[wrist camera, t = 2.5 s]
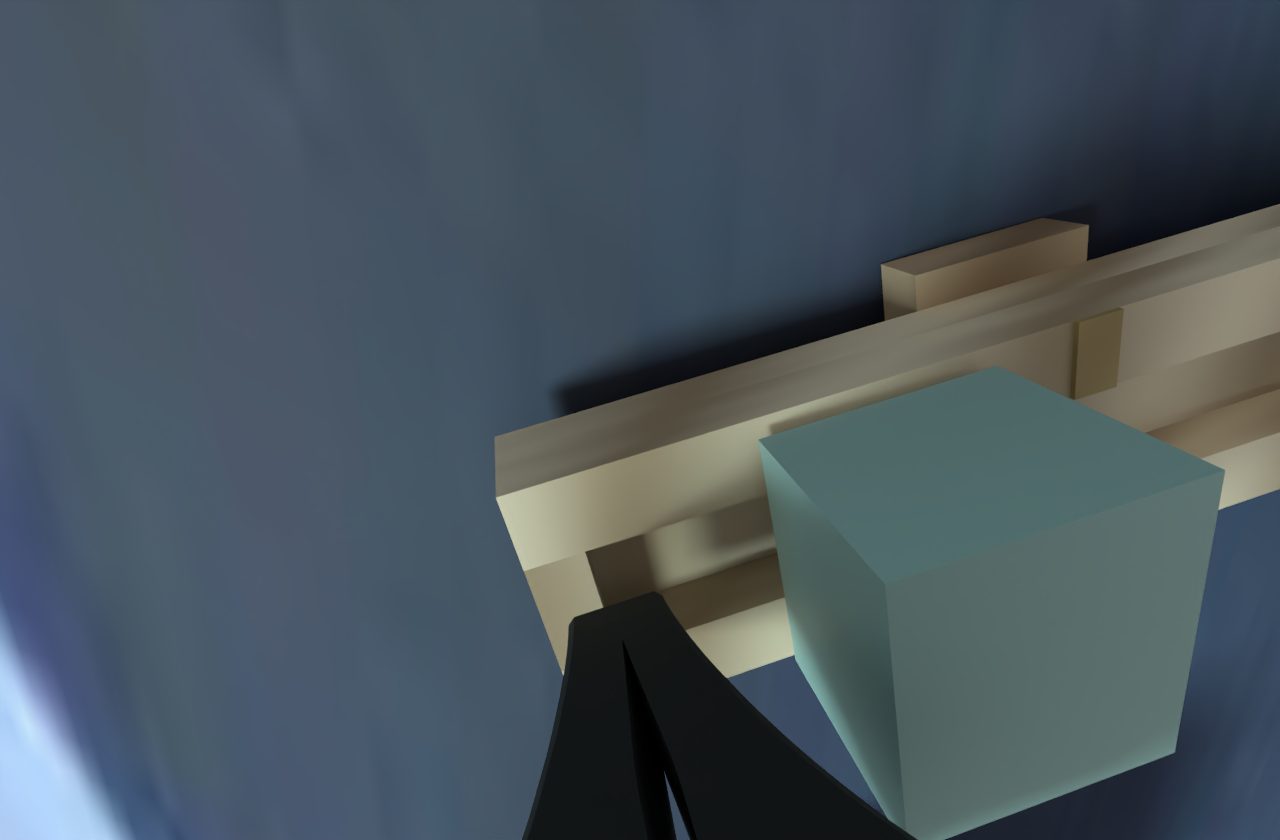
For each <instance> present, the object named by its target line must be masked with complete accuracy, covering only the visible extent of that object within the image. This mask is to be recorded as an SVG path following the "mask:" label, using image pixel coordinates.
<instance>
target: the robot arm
mask: <svg viewBox="0 0 1280 840" xmlns="http://www.w3.org/2000/svg"><path fill="white" fill-rule="evenodd" d="M664 772H665V774H666V777H667V780H668V782H669V785H670V788H671V790H672V793H673V796H674V798H675V801H676V803H677V806H678V809H679V811H680V814H681V817H682V819H683V822H684V825H685V827H686V830H687V833H688V835H689V838H690V840H917V839H916V838H915V837H913V836H912V835H910V834H909V833H907V832H906V831H904V830H903V829H902V828H900V827H899V826H897V825H896V824H894V823H893V822H891V821H890V820H888V819H887V818H886V817H884V816H883V815H882V814H880V813H879V812H878V811H876V810H875V809H874V808H872V807H871V806H870V805H869V804H867V803H866V802H865V801H863V800H862V799H861V798H859V797H858V796H857V795H856V794H854V793H853V792H852V791H850V790H849V789H848V788H846V787H845V786H844V785H843V784H841V783H840V782H839V781H838V780H836V779H835V778H834V777H833V776H832V775H830V774H829V773H828V772H827V771H825V770H824V769H823V768H822V767H821V766H819V765H818V764H817V763H816V762H814V761H813V760H812V759H811V758H810V757H809V756H807V755H806V754H805V753H804V752H803V751H802V750H800V749H799V748H798V747H797V746H796V745H795V744H794V743H792V742H791V741H790V740H789V739H788V738H787V737H786V736H785V735H784V734H782V733H781V732H780V731H779V730H778V729H777V728H776V727H775V726H774V725H773V724H772V723H771V722H770V721H769V720H767V719H766V718H765V717H764V716H763V715H762V714H761V713H760V712H759V711H758V710H757V709H756V708H755V707H754V706H753V705H752V704H751V703H750V702H749V701H748V700H747V699H746V698H745V697H744V696H743V695H742V694H741V693H740V692H739V691H738V690H737V689H736V688H735V687H734V686H733V685H732V684H731V683H730V682H729V680H728V679H727V678H726V677H725V676H724V675H723V674H722V673H721V672H720V671H719V670H718V669H717V668H716V666H715V665H714V664H713V663H712V662H711V661H710V660H709V659H708V658H707V656H706V655H705V654H704V653H703V652H702V651H701V649H700V648H699V647H698V646H697V645H696V643H695V642H694V641H693V640H692V638H691V637H690V636H689V635H688V633H687V632H686V631H685V629H684V628H683V627H682V625H681V624H680V623H679V621H678V620H677V619H676V617H675V616H674V614H673V613H672V611H671V610H670V608H669V606H668V605H667V603H666V601H665V600H664V598H663V596H662V595H661V594H659V593H656V592H654V591H653V592H650V593H646V594H643V595H640V596H637V597H634V598H631V599H628V600H625V601H622V602H619V603H616V604H613V605H610V606H606V607H603V608H600V609H597V610H594V611H591V612H588V613H585V614H582V615H579V616H576V617H574V618H573V619H572V621H571V623H570V624H569V628H568V646H567V655H566V663H565V670H564V676H563V682H562V688H561V693H560V699H559V703H558V708H557V713H556V717H555V722H554V726H553V731H552V735H551V740H550V744H549V748H548V752H547V756H546V760H545V764H544V767H543V771H542V774H541V778H540V781H539V785H538V788H537V792H536V796H535V799H534V803H533V806H532V810H531V813H530V816H529V820H528V823H527V826H526V829H525V832H524V835H523V838H522V840H676V834H675V829H674V823H673V818H672V812H671V807H670V801H669V796H668V791H667V785H666V780H665V774H664Z"/></svg>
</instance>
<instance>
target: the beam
mask: <svg viewBox="0 0 1280 840" xmlns="http://www.w3.org/2000/svg"><path fill="white" fill-rule="evenodd" d="M1088 233H1089V225H1085V224H1079V223H1072V222H1066V221H1059V220H1053V219H1046V218H1040V219H1036V220H1033V221H1029V222H1026V223H1022V224H1019V225H1015V226H1012V227H1008V228H1005V229H1001V230H998V231H994V232H991V233H987V234H984V235H981V236H977V237H974V238H970V239H967V240H963V241H960V242H956V243H953V244H949V245H946V246H942V247H939V248H935V249H932V250H928V251H925V252H922V253H918V254H915V255H911V256H908V257H904V258H901V259H897V260H894V261H890V262H887V263H883V264H881V273H882V287H883V301H884V315H885V321H883V322H880V323H877V324H873V325H870V326H867V327H863V328H860V329H857V330H853V331H850V332H846V333H843V334H840V335H836V336H833V337H830V338H826V339H823V340H819V341H816V342H813V343H809V344H806V345H803V346H799V347H796V348H792V349H789V350H786V351H782V352H779V353H776V354H772V355H769V356H766V357H762V358H759V359H755V360H752V361H749V362H745V363H742V364H739V365H735V366H732V367H728V368H725V369H722V370H718V371H715V372H712V373H708V374H705V375H701V376H698V377H695V378H691V379H688V380H685V381H681V382H678V383H675V384H671V385H668V386H664V387H661V388H658V389H654V390H651V391H648V392H644V393H641V394H637V395H634V396H631V397H627V398H624V399H621V400H617V401H614V402H611V403H607V404H604V405H600V406H597V407H594V408H590V409H587V410H584V411H580V412H577V413H573V414H570V415H567V416H563V417H560V418H557V419H553V420H550V421H546V422H543V423H540V424H536V425H533V426H530V427H526V428H523V429H520V430H516V431H513V432H509V433H506V434H503V435H499V436H496V437H495V477H496V499H497V502H498V504H499V507H500V510H501V512H502V515H503V518H504V520H505V523H506V526H507V528H508V531H509V533H510V536H511V539H512V541H513V544H514V547H515V549H516V552H517V555H518V557H519V560H520V562H521V565H522V568H523V570H524V573H525V576H526V578H527V581H528V583H529V586H530V589H531V591H532V594H533V597H534V599H535V602H536V605H537V607H538V610H539V612H540V615H541V618H542V620H543V623H544V626H545V628H546V631H547V633H548V636H549V639H550V641H551V644H552V647H553V649H554V652H555V655H556V657H557V660H558V662H559V665H560V668H561V670H562V673H563V676H564V670H565V663H566V655H567V646H568V628H569V624H570V623H571V621H572V619H573V618H574V617H576V616H579V615H582V614H585V613H588V612H591V611H594V610H597V609H600V608H603V607H606V606H610V605H613V604H616V603H619V602H622V601H625V600H628V599H631V598H634V597H637V596H640V595H643V594H646V593H650V592H653V591H654V592H656V593H659V594H661V595H662V596H663V598H664V600H665V601H666V603H667V605H668V606H669V608H670V610H671V611H672V613H673V614H674V616H675V617H676V619H677V620H678V621H679V623H680V624H681V625H682V627H683V628H684V629H685V631H686V632H687V633H688V635H689V636H690V637H691V638H692V640H693V641H694V642H695V643H696V645H697V646H698V647H699V648H700V649H701V651H702V652H703V653H704V654H705V655H706V656H707V658H708V659H709V660H710V661H711V662H712V663H713V664H714V665H715V666H716V668H717V669H718V670H719V671H720V672H721V673H722V674H723V675H724V676H725V677H726V678H728V677H731V676H734V675H737V674H740V673H743V672H746V671H749V670H752V669H754V668H757V667H760V666H763V665H766V664H769V663H772V662H775V661H778V660H781V659H784V658H787V657H790V656H792V655H795V654H794V648H793V642H792V636H791V630H790V624H789V618H788V613H787V607H786V601H785V595H784V589H783V583H782V577H781V571H780V565H779V560H778V554H777V548H776V542H775V536H774V530H773V524H772V518H771V512H770V507H769V501H768V495H767V489H766V483H765V477H764V471H763V465H762V459H761V454H760V448H759V442H758V439H762V438H765V437H768V436H771V435H775V434H778V433H781V432H784V431H788V430H791V429H794V428H797V427H801V426H804V425H807V424H810V423H814V422H817V421H820V420H823V419H826V418H830V417H833V416H836V415H839V414H843V413H846V412H849V411H852V410H856V409H859V408H862V407H865V406H869V405H872V404H875V403H878V402H882V401H885V400H888V399H891V398H895V397H898V396H901V395H904V394H907V393H911V392H914V391H917V390H920V389H924V388H927V387H930V386H933V385H937V384H940V383H943V382H946V381H950V380H953V379H956V378H959V377H963V376H966V375H969V374H972V373H976V372H979V371H982V370H985V369H988V368H992V367H995V366H1000V367H1002V368H1004V369H1006V370H1008V371H1010V372H1013V373H1015V374H1017V375H1019V376H1021V377H1023V378H1026V379H1028V380H1030V381H1032V382H1034V383H1037V384H1039V385H1041V386H1043V387H1045V388H1047V389H1050V390H1052V391H1054V392H1056V393H1058V394H1061V395H1063V396H1065V397H1067V398H1069V399H1071V400H1074V401H1076V402H1078V403H1080V404H1082V405H1085V406H1087V407H1089V408H1091V409H1093V410H1095V411H1098V412H1100V413H1102V414H1104V415H1106V416H1108V417H1111V418H1113V419H1115V420H1117V421H1119V422H1122V423H1124V424H1126V425H1128V426H1130V427H1132V428H1135V429H1137V430H1139V431H1141V432H1143V433H1146V434H1148V435H1150V436H1152V437H1154V438H1156V439H1159V440H1161V441H1163V442H1165V443H1167V444H1170V445H1172V446H1174V447H1176V448H1178V449H1180V450H1183V451H1185V452H1187V453H1189V454H1191V455H1193V456H1196V457H1198V458H1200V459H1202V460H1204V461H1207V462H1209V463H1211V464H1213V465H1215V466H1217V467H1220V468H1222V469H1224V470H1225V475H1224V481H1223V486H1222V492H1221V497H1220V503H1219V509H1222V508H1225V507H1228V506H1231V505H1234V504H1237V503H1240V502H1243V501H1246V500H1248V499H1251V498H1254V497H1257V496H1260V495H1263V494H1266V493H1269V492H1272V491H1275V490H1278V489H1280V204H1278V205H1274V206H1271V207H1268V208H1264V209H1261V210H1258V211H1254V212H1251V213H1247V214H1244V215H1241V216H1237V217H1234V218H1231V219H1227V220H1224V221H1220V222H1217V223H1214V224H1210V225H1207V226H1204V227H1200V228H1197V229H1193V230H1190V231H1187V232H1183V233H1180V234H1177V235H1173V236H1170V237H1167V238H1163V239H1160V240H1156V241H1153V242H1150V243H1146V244H1143V245H1140V246H1136V247H1133V248H1129V249H1126V250H1123V251H1119V252H1116V253H1113V254H1109V255H1106V256H1103V257H1099V258H1096V259H1092V260H1089V261H1087V249H1088ZM1219 509H1218V510H1219Z"/></svg>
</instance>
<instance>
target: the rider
mask: <svg viewBox="0 0 1280 840" xmlns="http://www.w3.org/2000/svg"><path fill="white" fill-rule="evenodd" d="M758 442H759V448H760V454H761V459H762V465H763V471H764V477H765V483H766V489H767V495H768V501H769V507H770V512H771V518H772V524H773V530H774V536H775V542H776V548H777V554H778V560H779V565H780V571H781V577H782V583H783V589H784V595H785V601H786V607H787V613H788V618H789V624H790V630H791V636H792V642H793V648H794V654H795V660H796V662H797V663H798V665H799V667H800V668H801V670H802V672H803V674H804V675H805V677H806V679H807V681H808V682H809V684H810V686H811V687H812V689H813V691H814V693H815V694H816V696H817V698H818V699H819V701H820V703H821V705H822V706H823V708H824V710H825V711H826V713H827V715H828V717H829V718H830V720H831V722H832V724H833V725H834V727H835V729H836V730H837V732H838V734H839V736H840V737H841V739H842V741H843V742H844V744H845V746H846V748H847V749H848V751H849V753H850V755H851V756H852V758H853V760H854V761H855V763H856V765H857V767H858V768H859V770H860V772H861V773H862V775H863V777H864V779H865V780H866V782H867V784H868V785H869V787H870V789H871V791H872V792H873V794H874V796H875V798H876V799H877V801H878V803H879V804H880V806H881V808H882V810H883V811H884V813H885V815H886V816H887V818H888V820H890V821H891V822H893V823H894V824H896V825H897V826H899V827H900V828H902V829H903V830H904V831H906V832H907V833H909V834H910V835H912V836H913V837H915V838H916V839H917V840H945V839H948V838H950V837H953V836H955V835H958V834H961V833H963V832H966V831H969V830H971V829H974V828H977V827H979V826H982V825H985V824H987V823H990V822H993V821H995V820H998V819H1000V818H1003V817H1006V816H1008V815H1011V814H1014V813H1016V812H1019V811H1022V810H1024V809H1027V808H1030V807H1032V806H1035V805H1038V804H1040V803H1043V802H1045V801H1048V800H1051V799H1053V798H1056V797H1059V796H1061V795H1064V794H1067V793H1069V792H1072V791H1075V790H1077V789H1080V788H1083V787H1085V786H1088V785H1090V784H1093V783H1096V782H1098V781H1101V780H1104V779H1106V778H1109V777H1112V776H1114V775H1117V774H1120V773H1122V772H1125V771H1128V770H1130V769H1133V768H1135V767H1138V766H1141V765H1143V764H1146V763H1149V762H1151V761H1154V760H1157V759H1159V758H1162V757H1165V756H1167V755H1170V754H1173V753H1175V748H1176V743H1177V737H1178V731H1179V726H1180V720H1181V715H1182V709H1183V704H1184V698H1185V692H1186V687H1187V681H1188V676H1189V670H1190V665H1191V659H1192V653H1193V648H1194V642H1195V637H1196V631H1197V626H1198V620H1199V614H1200V609H1201V603H1202V598H1203V592H1204V587H1205V581H1206V575H1207V570H1208V564H1209V559H1210V553H1211V548H1212V542H1213V536H1214V531H1215V525H1216V520H1217V514H1218V509H1219V503H1220V497H1221V492H1222V486H1223V481H1224V475H1225V470H1224V469H1222V468H1220V467H1217V466H1215V465H1213V464H1211V463H1209V462H1207V461H1204V460H1202V459H1200V458H1198V457H1196V456H1193V455H1191V454H1189V453H1187V452H1185V451H1183V450H1180V449H1178V448H1176V447H1174V446H1172V445H1170V444H1167V443H1165V442H1163V441H1161V440H1159V439H1156V438H1154V437H1152V436H1150V435H1148V434H1146V433H1143V432H1141V431H1139V430H1137V429H1135V428H1132V427H1130V426H1128V425H1126V424H1124V423H1122V422H1119V421H1117V420H1115V419H1113V418H1111V417H1108V416H1106V415H1104V414H1102V413H1100V412H1098V411H1095V410H1093V409H1091V408H1089V407H1087V406H1085V405H1082V404H1080V403H1078V402H1076V401H1074V400H1071V399H1069V398H1067V397H1065V396H1063V395H1061V394H1058V393H1056V392H1054V391H1052V390H1050V389H1047V388H1045V387H1043V386H1041V385H1039V384H1037V383H1034V382H1032V381H1030V380H1028V379H1026V378H1023V377H1021V376H1019V375H1017V374H1015V373H1013V372H1010V371H1008V370H1006V369H1004V368H1002V367H1000V366H995V367H992V368H988V369H985V370H982V371H979V372H976V373H972V374H969V375H966V376H963V377H959V378H956V379H953V380H950V381H946V382H943V383H940V384H937V385H933V386H930V387H927V388H924V389H920V390H917V391H914V392H911V393H907V394H904V395H901V396H898V397H895V398H891V399H888V400H885V401H882V402H878V403H875V404H872V405H869V406H865V407H862V408H859V409H856V410H852V411H849V412H846V413H843V414H839V415H836V416H833V417H830V418H826V419H823V420H820V421H817V422H814V423H810V424H807V425H804V426H801V427H797V428H794V429H791V430H788V431H784V432H781V433H778V434H775V435H771V436H768V437H765V438H762V439H758Z"/></svg>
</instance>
